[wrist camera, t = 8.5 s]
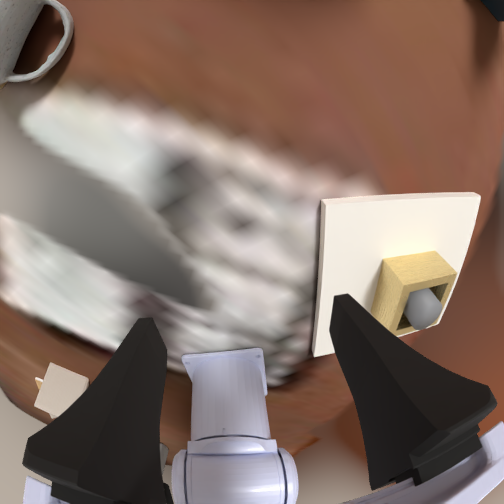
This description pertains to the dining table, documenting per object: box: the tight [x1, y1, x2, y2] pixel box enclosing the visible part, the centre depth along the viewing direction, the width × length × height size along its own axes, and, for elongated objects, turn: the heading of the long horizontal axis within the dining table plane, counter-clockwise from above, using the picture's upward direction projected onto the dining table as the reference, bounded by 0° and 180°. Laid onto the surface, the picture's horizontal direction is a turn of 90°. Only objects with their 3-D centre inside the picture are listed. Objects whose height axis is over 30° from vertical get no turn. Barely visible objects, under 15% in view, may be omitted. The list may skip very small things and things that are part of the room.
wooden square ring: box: [370, 250, 457, 336], centre depth 20 cm, size 6×6×4 cm
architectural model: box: [34, 362, 89, 418], centre depth 25 cm, size 3×7×7 cm, turn 64°
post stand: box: [312, 192, 481, 357], centre depth 20 cm, size 16×16×6 cm
